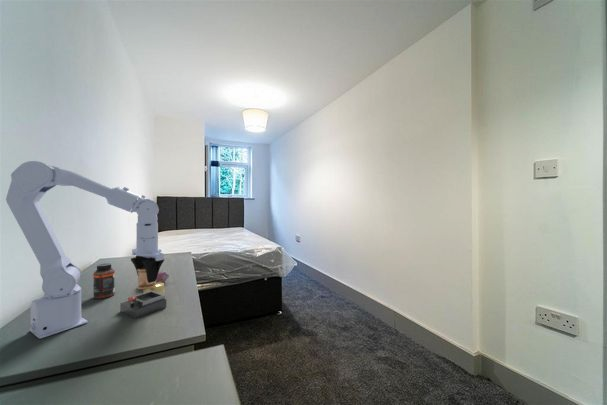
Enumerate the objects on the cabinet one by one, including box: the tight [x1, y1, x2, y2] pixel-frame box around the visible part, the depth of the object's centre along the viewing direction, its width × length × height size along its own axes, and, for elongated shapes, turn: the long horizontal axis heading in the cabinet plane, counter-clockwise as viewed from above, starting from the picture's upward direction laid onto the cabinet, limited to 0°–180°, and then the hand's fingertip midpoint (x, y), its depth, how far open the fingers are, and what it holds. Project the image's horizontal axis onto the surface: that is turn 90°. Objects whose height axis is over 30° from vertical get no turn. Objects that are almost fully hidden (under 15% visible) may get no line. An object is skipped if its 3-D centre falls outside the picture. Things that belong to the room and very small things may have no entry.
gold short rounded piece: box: [142, 281, 165, 295], centre depth 87 cm, size 6×6×4 cm
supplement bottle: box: [92, 262, 116, 300], centre depth 87 cm, size 6×6×11 cm
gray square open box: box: [119, 291, 167, 320], centre depth 77 cm, size 9×9×5 cm
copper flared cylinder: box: [136, 267, 156, 291], centre depth 77 cm, size 5×5×6 cm
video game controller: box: [155, 270, 170, 283], centre depth 98 cm, size 10×5×7 cm, turn 143°
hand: (147, 280), depth 77 cm, fingers closed on copper flared cylinder, 5 cm apart
